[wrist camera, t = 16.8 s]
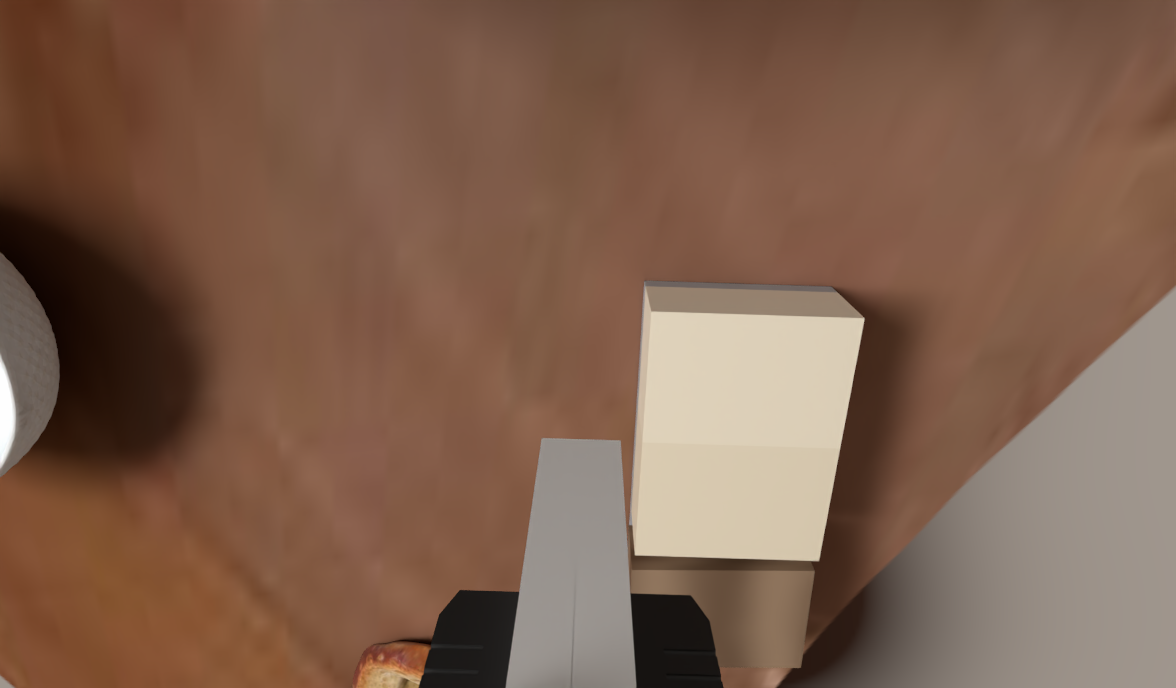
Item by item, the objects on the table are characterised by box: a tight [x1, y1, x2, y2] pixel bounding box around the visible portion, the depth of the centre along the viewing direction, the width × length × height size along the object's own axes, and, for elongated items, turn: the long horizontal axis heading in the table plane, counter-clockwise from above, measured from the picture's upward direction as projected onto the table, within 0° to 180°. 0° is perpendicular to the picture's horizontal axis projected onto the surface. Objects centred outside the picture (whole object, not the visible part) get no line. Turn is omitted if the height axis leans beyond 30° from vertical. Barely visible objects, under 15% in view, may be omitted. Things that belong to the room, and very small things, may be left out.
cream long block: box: [629, 281, 865, 561], centre depth 39 cm, size 10×24×5 cm, turn 178°
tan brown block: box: [628, 525, 815, 668], centre depth 41 cm, size 10×7×4 cm
